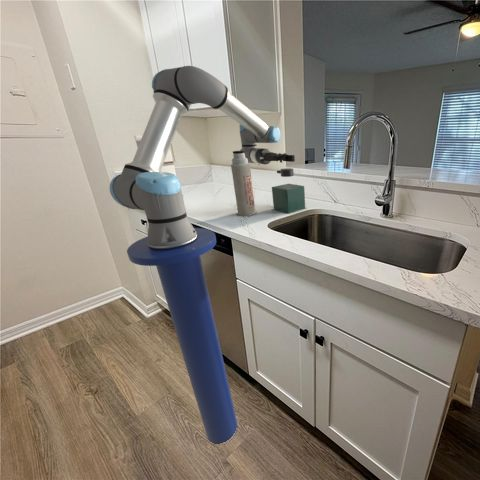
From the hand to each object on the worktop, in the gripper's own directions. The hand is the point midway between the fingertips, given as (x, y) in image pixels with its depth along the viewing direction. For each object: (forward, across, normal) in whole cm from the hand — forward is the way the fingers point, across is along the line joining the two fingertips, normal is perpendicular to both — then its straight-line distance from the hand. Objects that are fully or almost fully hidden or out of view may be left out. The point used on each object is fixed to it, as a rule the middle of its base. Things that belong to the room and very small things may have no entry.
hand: (293, 158), depth 116 cm
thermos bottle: (-15, +18, -24) cm, 34 cm away
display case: (-79, +30, -24) cm, 88 cm away
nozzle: (-7, 0, -8) cm, 10 cm away
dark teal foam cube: (-5, 0, -24) cm, 25 cm away
